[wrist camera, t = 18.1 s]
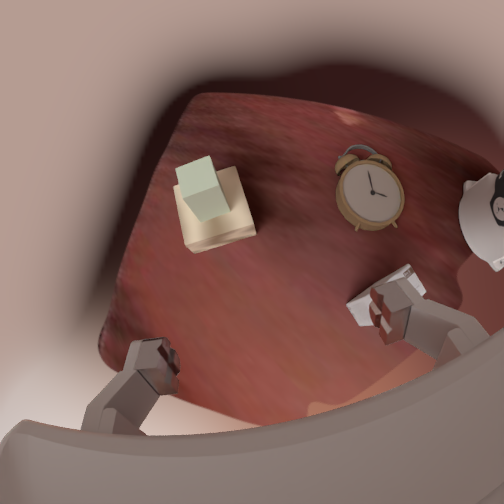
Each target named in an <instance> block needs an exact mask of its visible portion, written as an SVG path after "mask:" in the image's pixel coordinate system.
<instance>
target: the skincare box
mask: <svg viewBox="0 0 504 504" xmlns="http://www.w3.org/2000/svg"><path fill="white" fill-rule="evenodd" d="M402 277H405V278H406V279H407V280H408V281H409V282H410V283H411V284H412V285H413V287H414V288H415V289H416V290H417V291H418V292H419V293H420V295H421V296H423V295H424V294H425V293H426V290H425V288H424V287H423V285H422V283H421V282H420V280H419V279H418V277H417V275H416V274H415V272H414V271H413V269H412V267H411V266H410V264H407V265H405V266H403V267H401V268H400V269H398V270H396V271H395V272H393V273H391V274H390V275H388V276H386V277H384V278H383V279H381V280H379V281H377V282H376V283H374V284H373V285H371V286H370V287H369V288H367V289H366V290H365V291H363V292H362V293H360V294H359V295H358V296H356V297H355V298H354V299H352V300H351V301H350V302H348V303H347V304H346V305H347V307H348V309H349V310H350V312H351V313H352V315H353V316H354V318H355V320H356V321H357V323H358V324H359V326H368V325H374V324H373V323H372V320H371V318H370V313H369V304H370V302H371V301H372V299H371V297H370V290H371V288H372V287H375V286H378V285H381V284H384V283H387V282H390V281H393V280H396V279H399V278H402Z"/></svg>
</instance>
